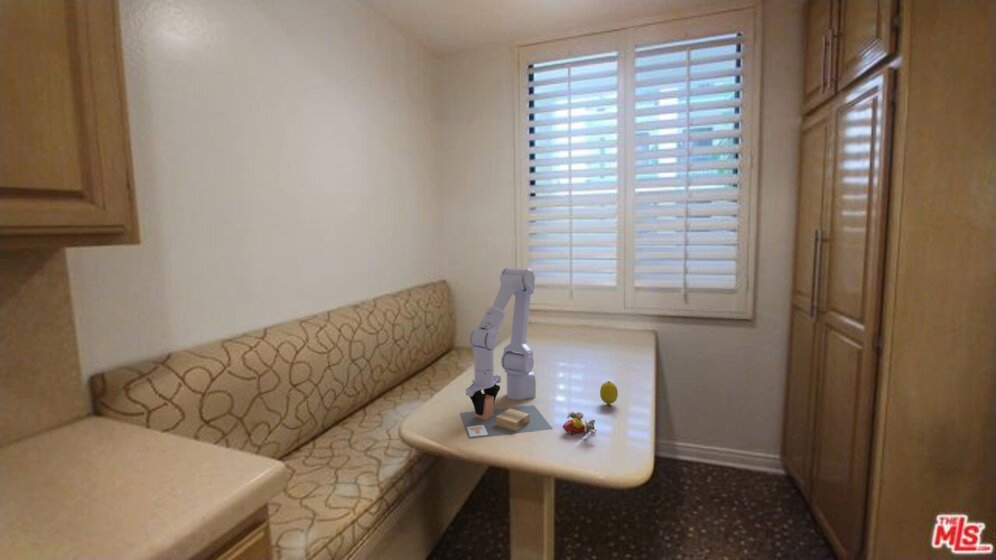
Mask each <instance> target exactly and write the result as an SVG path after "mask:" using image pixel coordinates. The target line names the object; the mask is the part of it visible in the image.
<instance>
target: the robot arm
mask: <svg viewBox="0 0 996 560" xmlns="http://www.w3.org/2000/svg"><path fill="white" fill-rule="evenodd" d="M499 282H500V287H499V289H498V292H497V295H496V296H495V299H494V301H493V305H492V306H490V307H488V308H487V309H486V311H485V313H484V315H483V317H482V319H481V320H480V323H479V325H478V327H476V328H475V329H473V330H472V331H471V334H470V338H469V343H470V345H471V348H472V349H471V352H473V361H474V362H473V363H474V364H473V365H474V366H473V367H474V379H473V380H472V384H471V385H470V386H468V387H467V388H465V395H466V396H468V397H469V398H470V400H471V402H472V404H473V408H474V411H475V412H476V414H477V415H480V416H481V415H483V408H484V401H485V397H486V394H487V395H491V396H494V404H495V402H496V398H497V396H498V393H499V391H500V390H501V386H500V385H498V384H500V383H502V376H501V375H497V374H495V375H494V369H495V368H494V348H495V347H496V345H497V343H498V337H499V328H500V327H501V325H502V323H503V321H504V318H505V312H504V310H505V308H506V307H507V305H508V303H509V302H510V300H511V298H512V296H513V295H514V307H513V308H514V309H513V316H512V327H511V336H510V337H511V338H510V343H508V344H507V345H506V346H505V347H504V348H503V352H502V356H501V361H500V363H501V367H502V368H503V370H504V373H506V397H507V398H508V399H509V400H514V401H516V400H517V401H522V400H525V399H532V398H533V399H536V393H537V391H536V386H537V385H536V381H537V379H536V376H535V373H534V371H533V368H534V364H535V363H534V350H532V349H531V347H530V346H529V345H528V344H527V337H528V328H529V327H528V326H529V320H530V319H529V318H530V310H531V309H530V305H531V296H532V295H533V294H534V292H535V282H536V275H535V273H534V270H533V269H531V268H517V267H516V268H515V267H508V266H507V267H504V268H503V269H502V270H501V273H500V276H499ZM482 391H483V392H482Z"/></svg>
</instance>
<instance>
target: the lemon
mask: <svg viewBox="0 0 996 560" xmlns="http://www.w3.org/2000/svg"><path fill="white" fill-rule="evenodd" d="M618 394H619V390H618V388H617V385H616V384H615V383H614V382H612V381H610V380H607V381H605V382H604V383H602V384H601V386H600V390H599V395H600V398H601V400H602V402H603V403H605V404H607V406H610V405H611V404H614V403H615V402H616V401H617V400H618V397H619V395H618Z"/></svg>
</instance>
